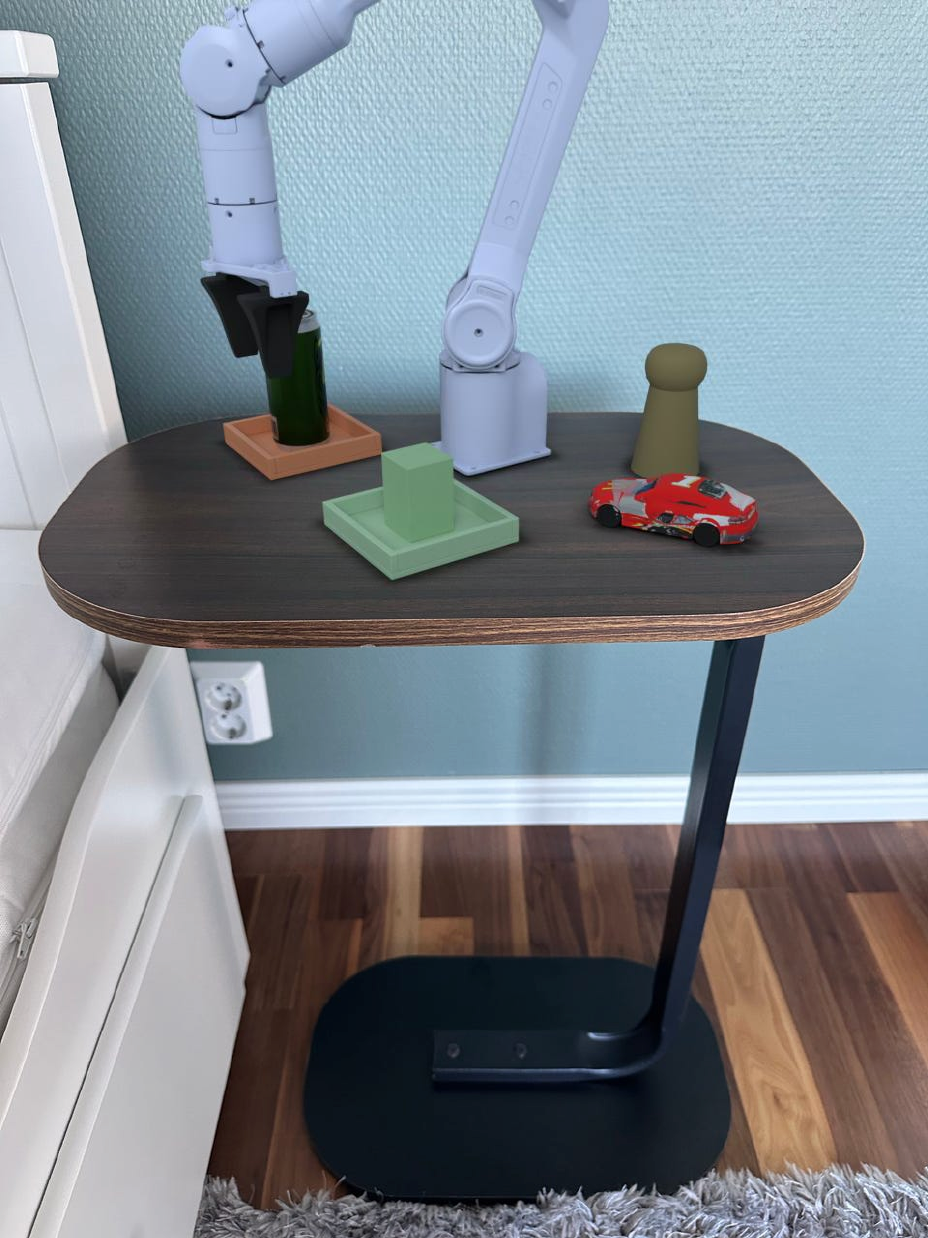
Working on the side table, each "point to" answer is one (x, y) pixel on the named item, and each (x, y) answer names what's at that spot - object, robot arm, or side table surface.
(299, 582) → the side table surface
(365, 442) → the terracotta tray
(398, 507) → the sage block
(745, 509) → the race car
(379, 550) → the sage tray
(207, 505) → the side table surface
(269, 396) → the beer can
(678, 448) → the olive pawn piece
